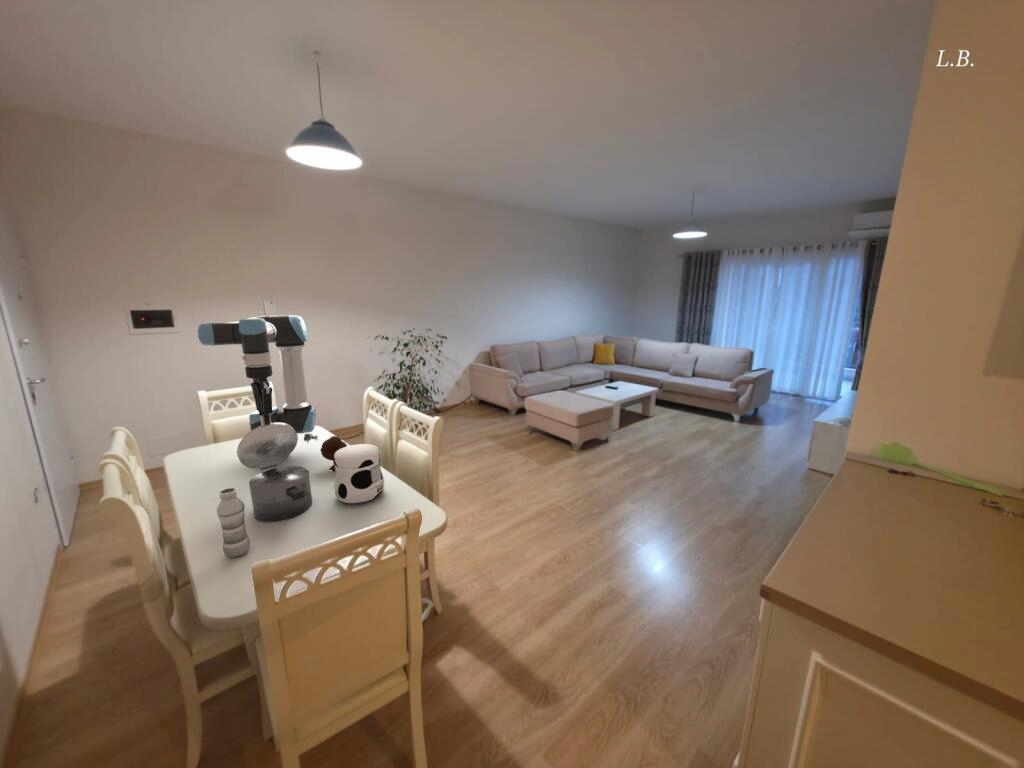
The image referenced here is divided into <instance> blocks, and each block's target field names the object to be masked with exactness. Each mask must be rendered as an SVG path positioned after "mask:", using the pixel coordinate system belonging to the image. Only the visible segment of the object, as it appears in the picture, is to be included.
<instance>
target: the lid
mask: <svg viewBox="0 0 1024 768" xmlns="http://www.w3.org/2000/svg"><path fill="white" fill-rule="evenodd" d="M298 436H299V435H298V434H297V433H296V431H295V430H294V428H293V427H292V426H290V425H289V424H286V423H281V422H274V423H268V424H264V425H262V426H259V427H257V428H255V429H253V430H252V431H251V430H250V431H249V432H248V433H247V434H246V435H245V436H244V437H243V438H242V439H241V440H240V441H239V444H238V446H237V448H236V455H237V458H238V459H239V462H240V463H241V464H242V465H243V466H245V467H247V468H250V469H259V470H260V471H263V470H264V471H265V470H267V469H270V468H271V469H272V468H274V467H277V464H279V463H280V462H282V461H283V460H285V459H286V458H287V457H289V456H290V455H291V454H292V452H293V451H294V450H295V448H296V446H297V444H298V440H299V437H298Z"/></svg>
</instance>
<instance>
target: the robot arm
mask: <svg viewBox="0 0 1024 768" xmlns="http://www.w3.org/2000/svg"><path fill="white" fill-rule="evenodd" d="M197 337H198V340H199V342H200V344H202V345H203V346H212V347H214V346H215V347H216V346H234V345H237V346H238V345H241V349H242V355H243V356H242V357H241V360H242V361H243V362H244V365H245V366H246V367H244V370H245V377H246V378H247V379H252V382H250V387H251V390H252V394H253V399H254V403H255V408H256V409H255V411H252V412H251V413H250V414H249V417H248V418H249V426H250V431H252V430H253V429H255V428H257V427H259V426H262V425H264V424H268V423H274V422H281V423H286V424H289V425H290V426H292V427H293V428H294V430H295V431H296V433H297V435H298V434H299V435H300V434H302V435H303V434H307V433H312V432H313V431H314V429H315V426H316V421H317V420H316V419H317V409H316V407H314V406H312V403H311V402H310V401H308V396H307V389H306V380H305V379H306V378H305V369H304V363H303V362H304V361H303V360H304V359H303V353H302V349H303V348H304V347H305V345H306V344H305V343H306V342H307V341H308V340H309V336H308V330H307V326H306V324H305V321H304V319H303V317H302V316H300V315H292V314H289V315H260V316H254V317H249V318H240V319H239V321H230V322H207V323H200V324H199V326H198V327H197ZM271 343H272V344H273V343H274V347H275V348H276V349H277V350H279V356H280V363H281V373H282V381H283V388H284V397H285V403H284V405H282V409H280V408H279V407H278V406H276V405H275V406H273V388H272V387H271V386H270V381H268V378H269V377H271V376H273V368H272V365H271V363H272V359H271V351H270V349H269V348H270V346H269V344H271Z"/></svg>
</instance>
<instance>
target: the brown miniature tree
mask: <svg viewBox="0 0 1024 768" xmlns="http://www.w3.org/2000/svg"><path fill="white" fill-rule="evenodd" d="M346 446H348V444H347V443H346V442H345V441H342V438H341V437H339V436H338V435H332V436H330V438H327V439H326V440H324V441H323V442H322V445H321V448H319V450H320V453H321V456H322V458H324V459H326V460H328V461H332V462H333V465H331V466H330V467H329V471H330V470H332V471H331V472H335V462H334V454H335V453H336V451H338V450H339V449H341V448H344V447H346Z"/></svg>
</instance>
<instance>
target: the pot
mask: <svg viewBox="0 0 1024 768" xmlns="http://www.w3.org/2000/svg"><path fill="white" fill-rule="evenodd" d="M310 479H311V478H310V471H309V470H308V468H307V467H304V466H300V465H288V466H280V467H276V468H274V467H273V468H271V469H269V470H267V469H266V470H264V471H262V472H260V473H258V474H256V475H255V476H253V477H251V479H250V480H249V481H248V485H249V491H250V498H251V503H252V504H251V505H252V511H253V515H254V516H253V517H254V518H255V519H256V520H257V521H259V522H262V523H276V522H277V523H278V522H283V521H288V520H290V519H294V518H296V517H298V516H300V515H303V514H304V513H305V512H307V511H308V510H310V508H311V507H312V505H313V497H312V496H313V495H312V488H311V480H310Z"/></svg>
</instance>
